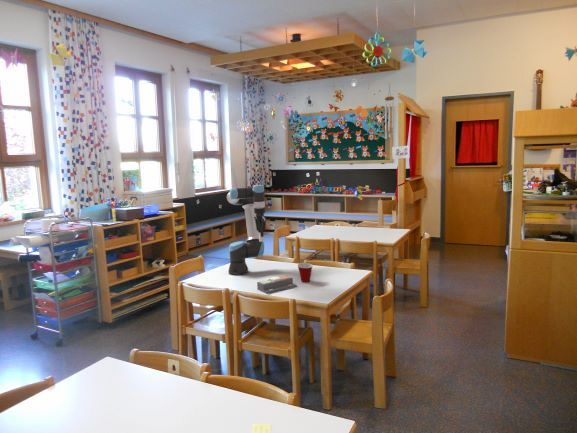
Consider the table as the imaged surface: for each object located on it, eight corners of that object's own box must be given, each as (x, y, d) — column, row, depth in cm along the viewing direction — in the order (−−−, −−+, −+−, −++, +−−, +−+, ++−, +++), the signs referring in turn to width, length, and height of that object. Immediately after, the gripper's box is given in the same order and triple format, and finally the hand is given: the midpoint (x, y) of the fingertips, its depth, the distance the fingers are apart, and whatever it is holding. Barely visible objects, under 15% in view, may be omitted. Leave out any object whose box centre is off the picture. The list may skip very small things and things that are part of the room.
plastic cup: (310, 284, 297) (309, 267, 296) (295, 283, 302) (294, 266, 300) (315, 280, 307) (315, 263, 305) (301, 278, 312) (301, 262, 310)
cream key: (269, 282, 295) (268, 278, 295) (276, 280, 298) (276, 276, 298) (273, 284, 290) (273, 279, 290) (281, 282, 293) (281, 278, 293)
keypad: (257, 289, 292) (257, 282, 291) (286, 282, 304) (286, 275, 303) (267, 294, 281) (266, 286, 281) (296, 286, 294) (296, 279, 293)
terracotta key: (278, 281, 299) (278, 277, 299) (285, 279, 302) (285, 275, 302) (283, 283, 294) (282, 279, 294) (290, 281, 297) (290, 277, 297)
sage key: (259, 285, 291) (259, 281, 291) (267, 284, 294) (267, 279, 294) (264, 288, 286) (263, 283, 286) (271, 286, 289) (271, 281, 289)
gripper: (250, 207, 303) (252, 240, 307) (259, 209, 293) (261, 243, 296) (259, 206, 307) (261, 239, 311) (269, 207, 297) (270, 241, 300)
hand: (261, 241), depth 304 cm, fingers closed
